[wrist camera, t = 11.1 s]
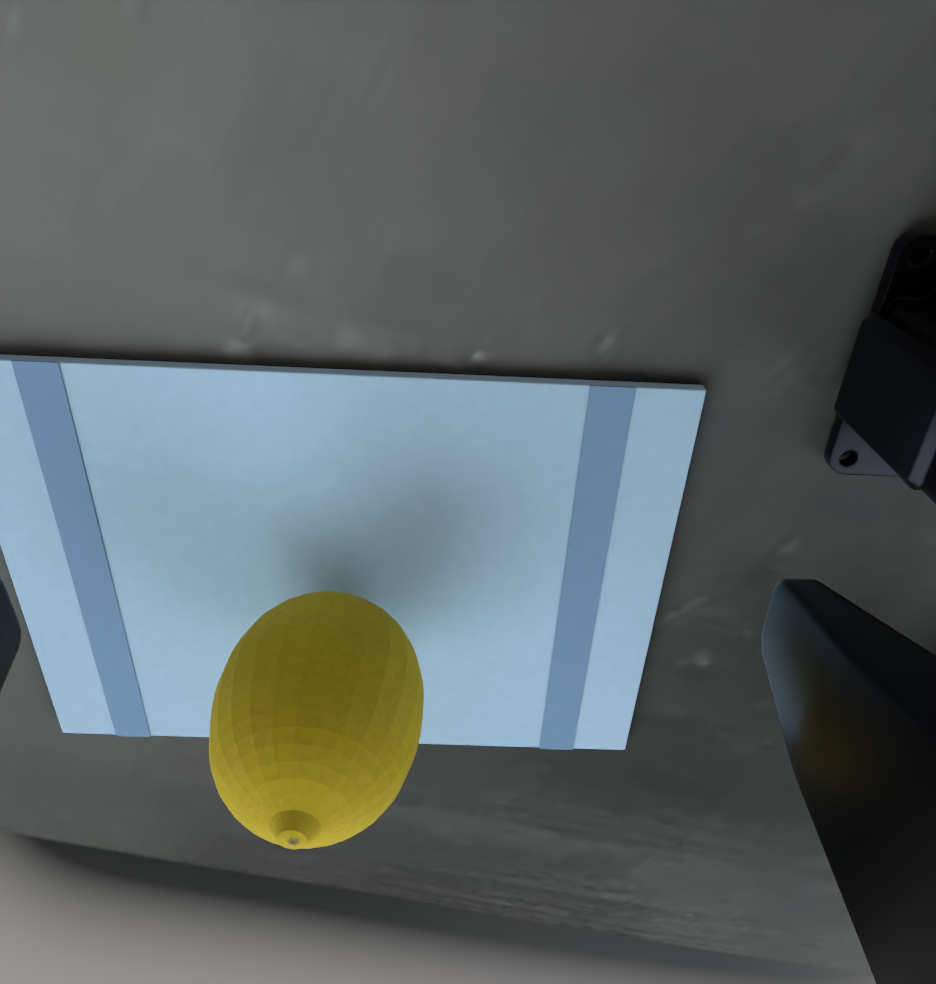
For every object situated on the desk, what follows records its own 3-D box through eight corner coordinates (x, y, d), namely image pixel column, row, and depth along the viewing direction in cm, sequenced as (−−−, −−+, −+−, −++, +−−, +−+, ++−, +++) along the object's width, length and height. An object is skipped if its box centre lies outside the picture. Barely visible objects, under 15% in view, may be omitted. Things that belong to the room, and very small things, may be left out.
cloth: (703, 384, 20) (707, 390, 20) (623, 741, 27) (625, 751, 27) (-54, 351, 20) (-65, 357, 19) (67, 724, 27) (61, 734, 26)
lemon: (353, 699, 26) (312, 938, 19) (217, 611, 24) (117, 843, 17) (466, 609, 24) (466, 841, 17) (329, 505, 22) (266, 720, 15)
